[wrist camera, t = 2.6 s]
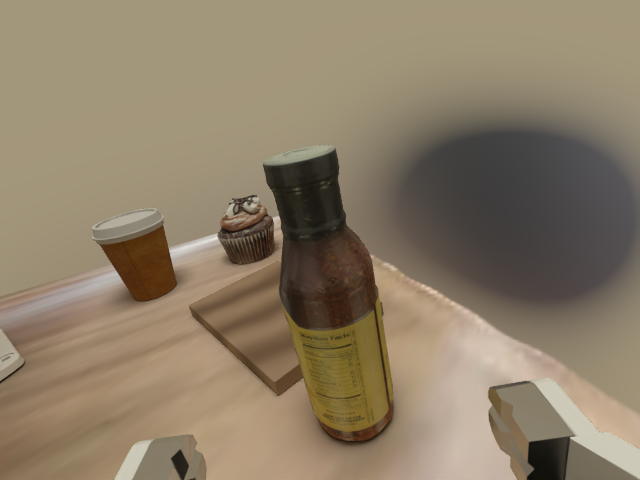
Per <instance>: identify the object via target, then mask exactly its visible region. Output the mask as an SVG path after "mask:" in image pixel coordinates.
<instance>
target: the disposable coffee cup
mask: <svg viewBox="0 0 640 480" xmlns="http://www.w3.org/2000/svg"><path fill="white" fill-rule="evenodd" d="M163 220H164V217H163V215H161V214H160V213H159V211H158V210H157V209H155V208H147V209H140V210H136V211H131V212H127V213H123V214H120V215H117V216H114V217H111V218H108V219H106V220H103V221H101V222H99V223H97V224H96V225H94V226H93V227H92V230H93V236H92V239H93V240H95V241H96V242H97V243H98V244H100V246H101V247H102V249H103V250H104V252H105V254H106V255H107V257H108V258H109V260H110V261H111V263H112V265H113V266H114V268H115V269H116V271H117V272H118V274H119V276H120V277H121V279H122V280H123V282H124V283H125V285H126V286H127V288H128V289H129V291H130V293H131V294H132V296H133V297H134V299H135V300H137V301H146V300H151V299H155V298H157V297H160V296H162V295H164V294H166V293H168V292H169V291H171V290H172V289H173V288H174V287H175V286H176V279H175V274H174V270H173V266H172V261H171V257H170V253H169V248H168V244H167V240H166V236H165V231H164V227H163V223H164V221H163Z"/></svg>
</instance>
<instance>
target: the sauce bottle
mask: <svg viewBox="0 0 640 480" xmlns="http://www.w3.org/2000/svg"><path fill="white" fill-rule="evenodd" d="M263 167H264V171H265V175H266V181H267V184H268V186H269V187H270V189H271V190H272V192H273V194H274V197H275V201H276V204H277V209H278V211H279V216H280V219H281V230H282V232H283V248H282V260H281V273H280V285H279V295H280V299H281V303H282V306H283V310H284V313H285V317H286V319H287V323H288V326H289V330H290V333H291V337H292V341H293V344H294V347H295V351H296V354H297V357H298V361H299V364H300V368H301V371H302V375H303V378H304V382H305V385H306V388H307V392H308V395H309V399H310V402H311V405H312V408H313V411H314V413H315V415H316V416H317V417H318V419H319V421H320V423H321V425H322V426H323V427H324V428H325V430H326V431H327V432H328V433H329V434H330V435H332V436H333V437H335V438H338V439H341V440H346V441H355V442H356V441H357V442H358V441H362V440H368V439H371V438H372V437H373V436H375V435H376V434H378V433H379V432H380V431H381V430H382V429H383V428H384V427H385V426H386V424H387V423H388V422H389V420H390V419H391V417H392V412H393V400H392V398H393V385H392V378H391V371H390V364H389V358H388V351H387V345H386V339H385V332H384V325H383V319H382V312H381V306H380V299H379V293H378V288H377V286H376V285H375V278H374V272H373V271H374V270H373V264H372V259H371V257H370V254H369V252H368V250H367V249H366V248H365V245H364V244H363V243H362V242H361V240H360V239H359V237H358V236H357V235H356V234H355V233H354V232H353V231H352V230H351V229H350V228H349V227H348V226H347V225H346V222H345V221H346V214H345V212H344V210H343V205H342V199H341V194H340V187H339V184H338V175H339V165H338V158H337V154H336V149H335V147H333V146H330V145H322V146H321V145H319V146H311V147H307V148H306V147H305V148H301V149H296V150H292V151H289V152H285V153H281V154H277V155H274V156H272V157H270V158H268V159H267V160H266V161H265V162H264V164H263Z"/></svg>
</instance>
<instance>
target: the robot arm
mask: <svg viewBox="0 0 640 480" xmlns="http://www.w3.org/2000/svg"><path fill="white" fill-rule="evenodd" d="M23 363H24V359H23V358H22V356H21V355H20V354H19V352H18V351H17V349H16V348H15V347H14V345H13V344H12V343H11V341H10V340H9V338H8V337H7V336H6V334H5V333H4V332H3V330H2V329H1V328H0V381H1V380H2V379H4V378H5V377H6V376H8V375H9V374H11V373H12V372H14V371H15V370H16V369H18V368H19V367H20V366H21V365H22V364H23ZM488 398H489V400H490V401H491V403H492V405H493V406H492V407H491V408H490V409H489V422H490V425H491V429H492V432H493V435H494V437H495V440H496V442H497V443H498V445H499V447H500V449H501V450H502V451H503V452H505V453H506V454H508V455H509V456H511V460H510V467H511V469H512V471H513V473H514V475H515V476H516V478H517V480H640V449H639V448H637V447H635V446H633V445H631V444H629V443H627V442H625V441H623V440H622V439H620V438H618V437H616V436H614V435H612V434H610V433H608V432H602V433H600V431H599V430H598V429H597V428H596V427H595V426H594V425H593V424H592V422H591V421H590V420H589V419H588V418H587V417H586V416H585V415H584V414H583V412H582V411H581V410H580V409H579V408H578V407H577V406H576V405H575V403H574V402H573V401H572V400H571V399H570V398H569V397H568V396H567V394H566V393H565V392H564V391H563V390H562V389H561V388H560V387H559V386H558V384H557V383H556V382H555V381H554V380H552V379H551V378H543V379H536V380H530V381H522V382H517V383H511V384H505V385H499V386H493V387H490V388H489V391H488ZM196 445H197V442H196V440H195V438H194V436H193V435H182V436H174V437H166V438H158V439H152V440H145V441H138V442H137V443H136V444H135V445H133V446H132V448H131V450H130V451H129V453H128V455H127V457H126V459H125V461H124V462H123V464H122V466H121V468H120V470H119V472H118V473H117V475H116V477H115V479H114V480H206V463H205V459H204V457H203V454H201V453H200V452H198V451H197V450H195V448H196Z"/></svg>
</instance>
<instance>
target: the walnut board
mask: <svg viewBox="0 0 640 480" xmlns="http://www.w3.org/2000/svg"><path fill="white" fill-rule="evenodd" d="M280 273H281V262H279V261H277V262H275V263H273V264H271V265H269V266H267V267H265V268H263V269H261V270H259V271H257V272H255V273H253V274H251V275H249V276H247V277H245V278H243V279H241V280H239V281H237V282H235V283H233V284H231V285H229V286H227V287H225V288H223V289H221V290H219V291H217V292H215V293H213V294H211V295H209V296H207V297H205V298H203V299H201V300H199V301H197V302H195V303H193V304H191V305H189V308H190V310H191V313H192V315H193V316H194V317H195V318H196V319H197V320H198V321H199V322H200V323H201V324H202V325H203V326H204V327H206V328H207V329H208V330H209V331H210V332H211V333H212V334H213V335H214V336H215V337H216V338H217V339H218V340H219V341H221V342H222V343H223V344H224V345H225V346H226V347H227V348H228V349H229V350H230V351H231V352H232V353H233V354H234V355H236V356H237V357H238V358H239V359H240V360H241V361H242V362H243V363H244V364H245V365H246V366H247V367H248V368H249V369H251V370H252V371H253V372H254V373H255V374H256V375H257V376H258V377H259V378H260V379H261V380H262V381H263V382H265V383H266V384H267V385H268V386H269V387H270V388H271V389H272V390H273V391H274V392H275V393H276V394H277V395H278V396H279V395H280V394H281V393H283V392H284V391H285V390H287V389H288V388H289V387H290V386H292V385H293V384H294V383H296V382H297V381H298V380H299V379H301V378H302V377H303V375H302V371H301V368H300V364H299V361H298V357H297V354H296V351H295V347H294V344H293V341H292V337H291V333H290V330H289V326H288V323H287V319H286V317H285V313H284V310H283V306H282V303H281V299H280V295H279V285H280ZM380 306H381V312H382V315H383V307H382V302H380Z"/></svg>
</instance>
